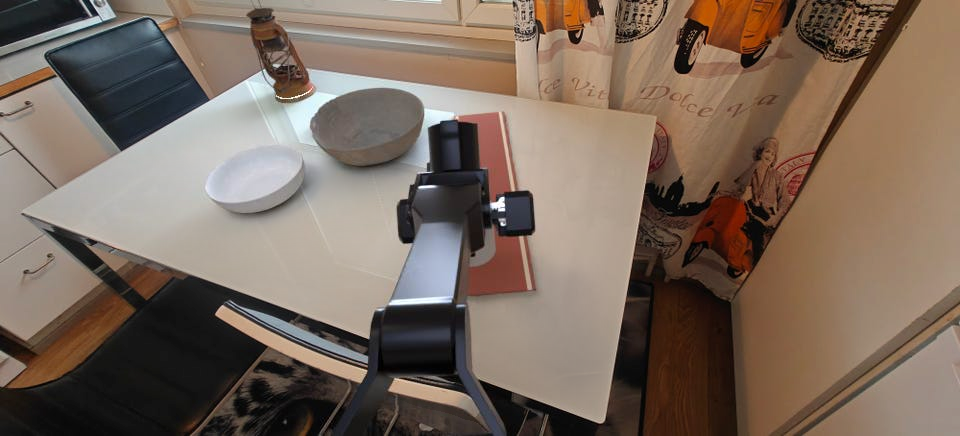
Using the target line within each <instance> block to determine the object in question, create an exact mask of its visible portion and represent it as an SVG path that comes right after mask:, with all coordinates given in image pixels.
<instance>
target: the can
mask: <svg viewBox="0 0 960 436" xmlns="http://www.w3.org/2000/svg"><path fill="white" fill-rule="evenodd" d="M490 202H491V200H490ZM491 203H492V202H491ZM491 212H493V209H492V208H491ZM491 220H492V229H485V246H484V247H483V248H482V249H480V250H478V251H476V256H475V257H470V267H471V266H479V265H482V264H485V263H486V262H488V261H489V260H490V259H491V258H492V257H493V256H494V254H495V251H496V246H495V234H494V224H493V219H491Z"/></svg>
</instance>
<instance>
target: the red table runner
mask: <svg viewBox="0 0 960 436" xmlns="http://www.w3.org/2000/svg"><path fill="white" fill-rule="evenodd" d="M455 119H458V121H459V122H469V123H477V124H478V135H479V150H480V165H481V168H488V170H489V185H490V200H491V202H492V203H495V202H496V194H504V192H510V191H519V189H518V183H517V177H516V173H515V167H514V161H513V156H512V149H511V144H510V137H509V134H508V127H507V123H506V116H505V111H493V112H483V113H473V114H464V115H453V120H455ZM494 234H495V246H496V251H495V254H494V256H493V257H492V258H491V259H490V260H489V261H488V262H486V263H485V264H482V265H479V266H471V267H470V268H469V280H468V292H467V297H473V296H486V295H495V294H509V293H516V292H517V293H520V292H531V291H536V290H537V288H536V283H535V277H534V272H533V271H534V270H533V267H532V266H533V264H532V261H531V254H530V249H529V244H528V239H527V236H517V237H507V236H501V237H499V236H498V233H497V231H496V228H495V226H494Z"/></svg>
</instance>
